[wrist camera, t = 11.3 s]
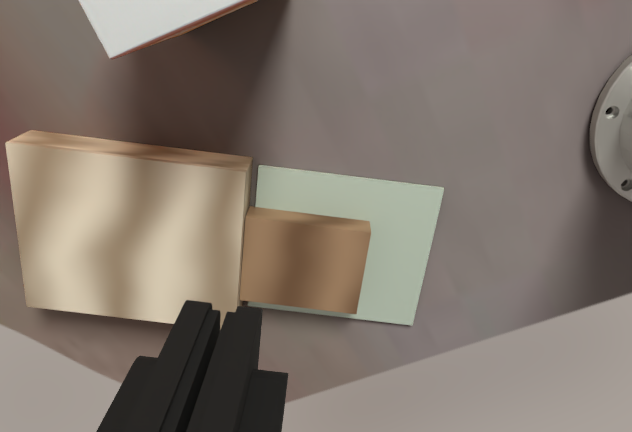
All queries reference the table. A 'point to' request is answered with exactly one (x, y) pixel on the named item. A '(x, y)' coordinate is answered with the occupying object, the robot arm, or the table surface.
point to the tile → (303, 259)
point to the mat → (386, 232)
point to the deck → (127, 225)
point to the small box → (150, 20)
